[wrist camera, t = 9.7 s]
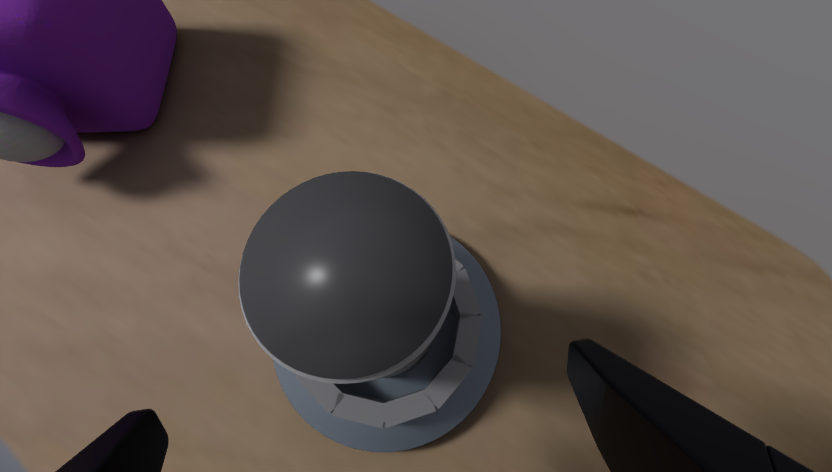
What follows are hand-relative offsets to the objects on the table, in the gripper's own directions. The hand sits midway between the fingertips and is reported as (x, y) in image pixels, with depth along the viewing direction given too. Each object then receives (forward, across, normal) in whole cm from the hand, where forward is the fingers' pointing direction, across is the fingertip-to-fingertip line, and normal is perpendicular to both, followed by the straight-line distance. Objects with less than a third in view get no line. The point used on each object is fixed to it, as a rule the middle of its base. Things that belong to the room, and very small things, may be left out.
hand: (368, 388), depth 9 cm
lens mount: (+11, 0, +7) cm, 14 cm away
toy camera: (+24, +17, -5) cm, 30 cm away
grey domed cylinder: (+11, 0, +7) cm, 13 cm away
